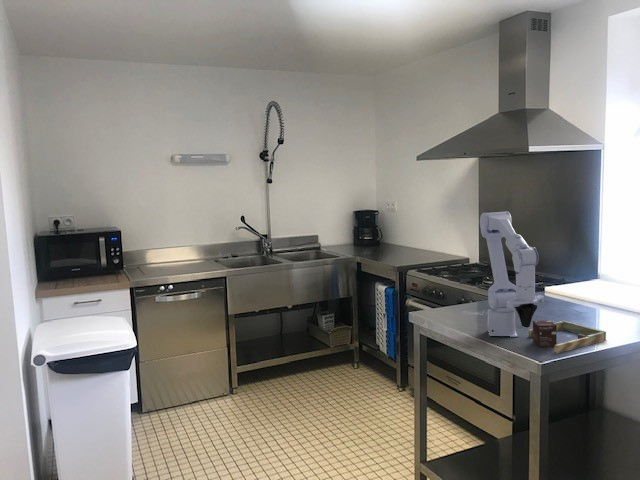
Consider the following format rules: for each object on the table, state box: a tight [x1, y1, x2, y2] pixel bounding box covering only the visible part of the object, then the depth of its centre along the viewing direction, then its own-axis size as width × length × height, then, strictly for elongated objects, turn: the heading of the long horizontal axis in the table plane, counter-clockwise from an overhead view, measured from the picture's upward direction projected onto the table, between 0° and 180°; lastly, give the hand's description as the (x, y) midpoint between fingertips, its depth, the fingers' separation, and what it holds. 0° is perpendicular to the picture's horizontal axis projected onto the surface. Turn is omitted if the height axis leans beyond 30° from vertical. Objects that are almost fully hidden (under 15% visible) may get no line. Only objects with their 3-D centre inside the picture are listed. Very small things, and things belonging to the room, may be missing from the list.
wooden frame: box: [528, 320, 607, 354], centre depth 179 cm, size 23×17×3 cm
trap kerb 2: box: [577, 333, 587, 339], centre depth 174 cm, size 1×2×3 cm, turn 26°
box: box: [532, 320, 558, 348], centre depth 175 cm, size 6×6×7 cm
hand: (525, 326), depth 171 cm, fingers closed
